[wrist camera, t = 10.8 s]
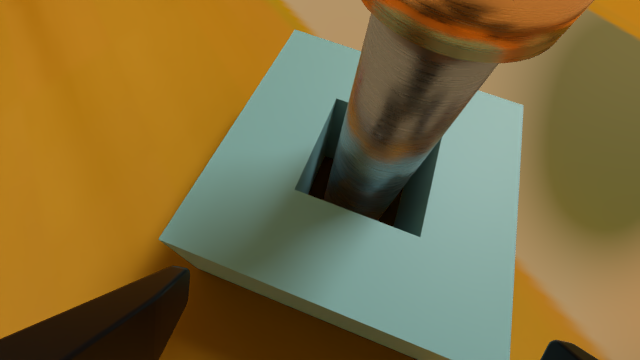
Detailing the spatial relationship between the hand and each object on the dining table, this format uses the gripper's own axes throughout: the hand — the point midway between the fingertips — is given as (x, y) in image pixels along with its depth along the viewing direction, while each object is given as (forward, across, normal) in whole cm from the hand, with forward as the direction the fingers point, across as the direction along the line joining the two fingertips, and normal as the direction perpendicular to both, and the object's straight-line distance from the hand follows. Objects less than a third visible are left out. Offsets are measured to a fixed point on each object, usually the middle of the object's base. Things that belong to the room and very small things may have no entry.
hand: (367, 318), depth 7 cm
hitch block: (+10, 0, +1) cm, 10 cm away
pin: (+10, 0, +1) cm, 10 cm away
